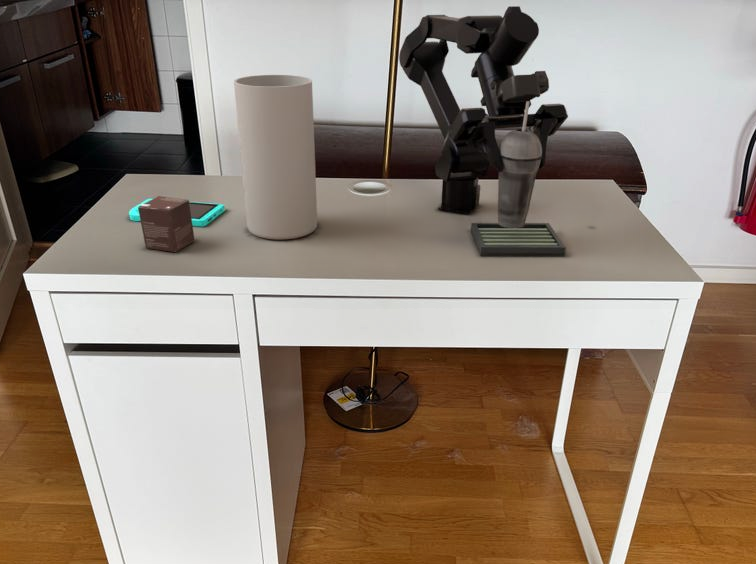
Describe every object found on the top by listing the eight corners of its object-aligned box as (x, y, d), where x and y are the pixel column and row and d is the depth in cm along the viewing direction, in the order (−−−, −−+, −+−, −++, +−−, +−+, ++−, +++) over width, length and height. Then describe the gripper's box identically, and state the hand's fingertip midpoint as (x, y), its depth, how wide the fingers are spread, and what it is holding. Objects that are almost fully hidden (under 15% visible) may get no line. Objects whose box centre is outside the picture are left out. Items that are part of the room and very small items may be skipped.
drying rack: (480, 256, 113) (481, 247, 112) (470, 231, 124) (471, 222, 123) (564, 256, 114) (565, 247, 113) (547, 231, 124) (549, 222, 123)
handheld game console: (150, 203, 135) (149, 196, 134) (226, 209, 132) (225, 202, 132) (123, 220, 126) (122, 213, 126) (204, 227, 124) (203, 219, 123)
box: (195, 241, 118) (190, 199, 114) (175, 253, 113) (169, 210, 109) (165, 236, 119) (159, 195, 116) (144, 248, 114) (136, 205, 111)
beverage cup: (527, 216, 120) (543, 95, 109) (538, 231, 114) (555, 104, 103) (486, 216, 119) (498, 95, 109) (494, 231, 113) (508, 104, 103)
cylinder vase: (330, 224, 126) (326, 78, 113) (291, 246, 116) (282, 89, 104) (275, 213, 131) (265, 72, 118) (233, 233, 121) (217, 82, 109)
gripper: (463, 53, 103) (488, 145, 100) (571, 50, 109) (598, 137, 105) (440, 98, 114) (462, 183, 111) (540, 93, 119) (563, 174, 116)
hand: (521, 169), depth 110 cm, fingers closed on beverage cup, 7 cm apart
